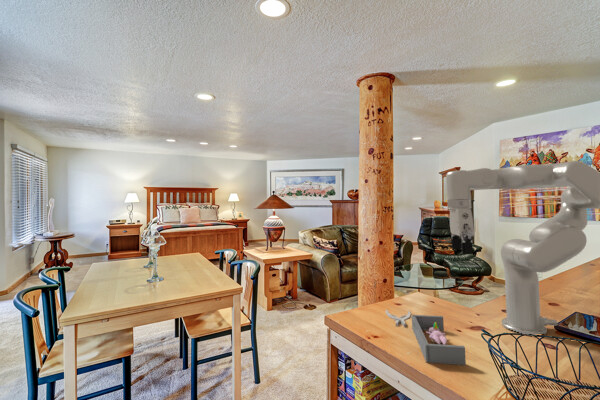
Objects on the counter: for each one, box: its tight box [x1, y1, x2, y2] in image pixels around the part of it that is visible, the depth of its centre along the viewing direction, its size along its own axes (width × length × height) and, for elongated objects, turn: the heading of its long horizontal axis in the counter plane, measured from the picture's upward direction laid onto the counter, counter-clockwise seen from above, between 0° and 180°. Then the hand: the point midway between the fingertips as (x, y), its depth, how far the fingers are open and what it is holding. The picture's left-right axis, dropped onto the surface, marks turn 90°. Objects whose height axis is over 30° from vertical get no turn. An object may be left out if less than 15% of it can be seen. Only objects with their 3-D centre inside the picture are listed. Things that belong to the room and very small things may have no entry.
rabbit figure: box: [425, 322, 448, 345], centre depth 94 cm, size 6×6×15 cm
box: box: [411, 314, 467, 366], centre depth 91 cm, size 10×22×5 cm, turn 168°
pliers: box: [385, 309, 412, 328], centre depth 112 cm, size 10×2×15 cm
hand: (461, 251), depth 102 cm, fingers open, 9 cm apart
